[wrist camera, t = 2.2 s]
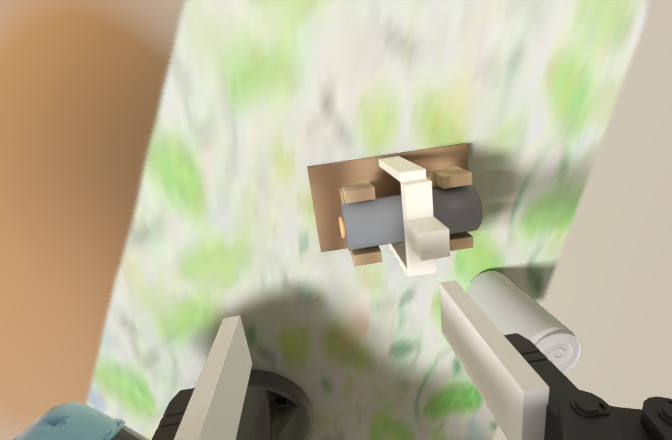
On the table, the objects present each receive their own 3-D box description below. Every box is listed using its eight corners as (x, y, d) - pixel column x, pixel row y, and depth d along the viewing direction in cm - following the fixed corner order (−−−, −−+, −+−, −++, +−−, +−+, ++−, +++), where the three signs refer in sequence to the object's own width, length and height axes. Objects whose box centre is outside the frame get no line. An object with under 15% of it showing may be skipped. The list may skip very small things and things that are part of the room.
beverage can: (511, 291, 41) (591, 361, 29) (476, 311, 41) (540, 388, 30) (495, 261, 39) (572, 322, 28) (458, 282, 40) (519, 351, 28)
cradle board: (320, 248, 37) (324, 283, 29) (307, 166, 34) (307, 182, 27) (464, 225, 38) (504, 254, 30) (462, 143, 35) (506, 152, 27)
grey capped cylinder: (341, 240, 32) (345, 258, 28) (335, 199, 30) (339, 212, 27) (465, 221, 32) (486, 236, 28) (464, 179, 31) (486, 189, 27)
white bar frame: (386, 241, 36) (424, 303, 24) (378, 158, 33) (416, 184, 22) (404, 238, 36) (451, 299, 24) (398, 155, 33) (447, 179, 22)
